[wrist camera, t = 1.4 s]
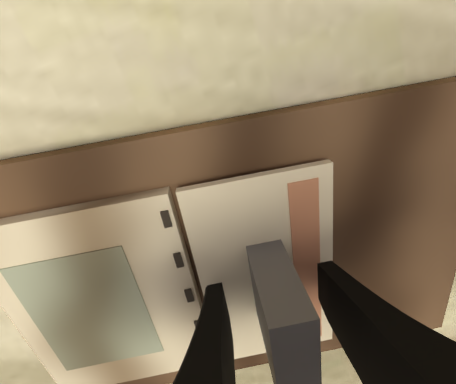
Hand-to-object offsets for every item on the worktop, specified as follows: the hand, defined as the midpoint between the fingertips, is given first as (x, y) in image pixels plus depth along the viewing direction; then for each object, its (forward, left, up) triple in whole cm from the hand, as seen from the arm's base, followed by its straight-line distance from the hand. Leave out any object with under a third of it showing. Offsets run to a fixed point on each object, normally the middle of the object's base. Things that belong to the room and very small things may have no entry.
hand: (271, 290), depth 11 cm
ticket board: (+1, 0, -2) cm, 3 cm away
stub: (0, 0, -1) cm, 1 cm away
